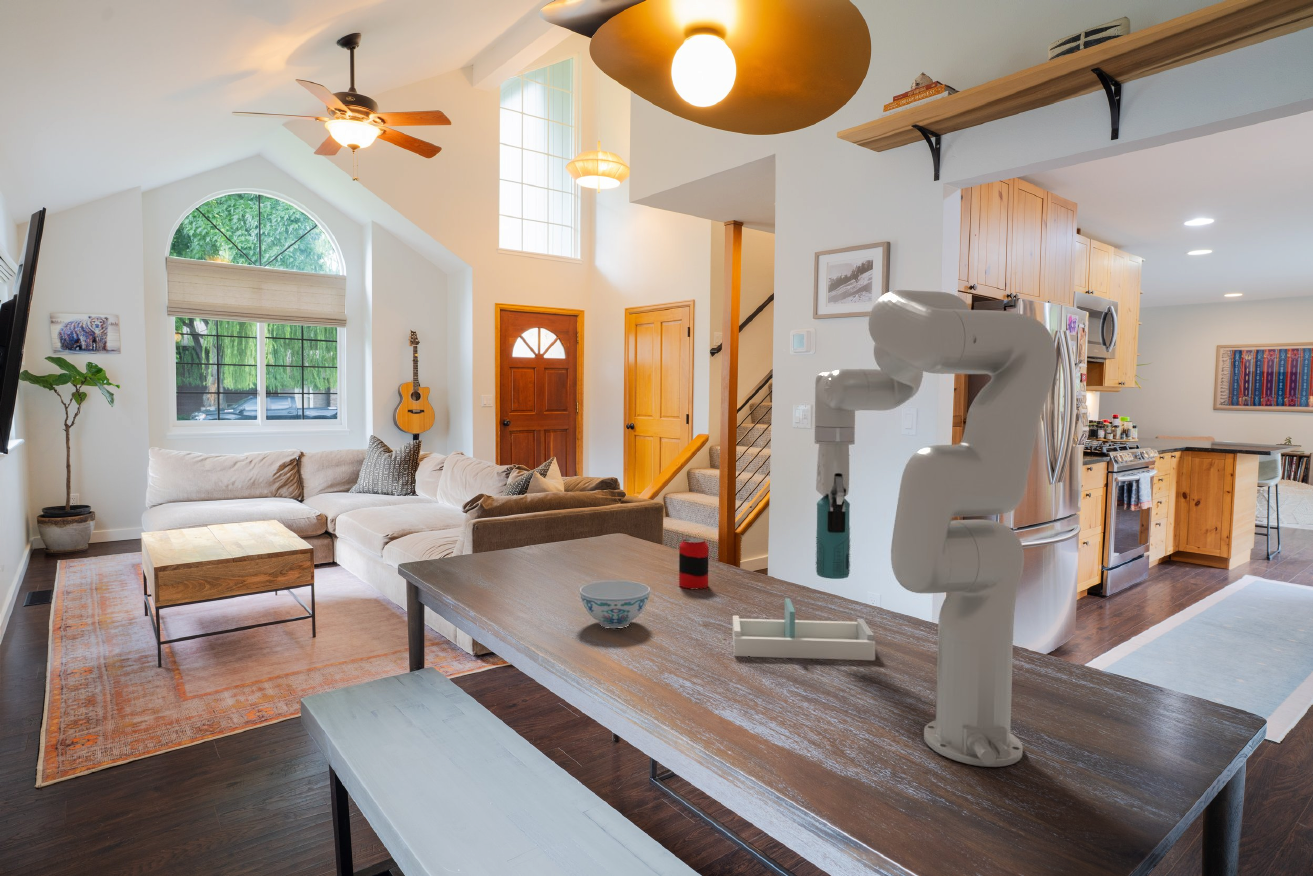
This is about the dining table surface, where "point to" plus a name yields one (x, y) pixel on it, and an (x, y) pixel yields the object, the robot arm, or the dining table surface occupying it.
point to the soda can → (693, 563)
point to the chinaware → (614, 601)
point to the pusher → (789, 619)
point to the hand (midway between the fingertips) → (832, 528)
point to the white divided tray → (803, 639)
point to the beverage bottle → (832, 544)
